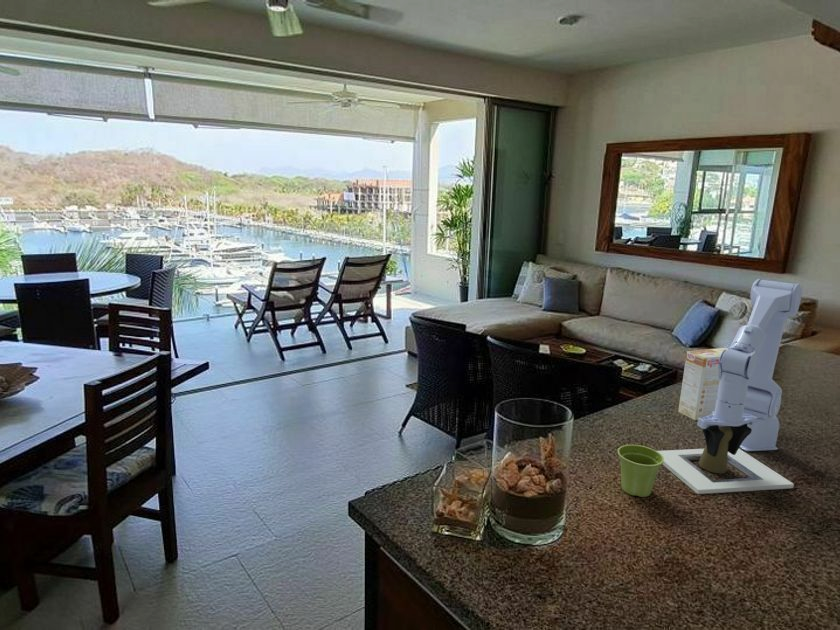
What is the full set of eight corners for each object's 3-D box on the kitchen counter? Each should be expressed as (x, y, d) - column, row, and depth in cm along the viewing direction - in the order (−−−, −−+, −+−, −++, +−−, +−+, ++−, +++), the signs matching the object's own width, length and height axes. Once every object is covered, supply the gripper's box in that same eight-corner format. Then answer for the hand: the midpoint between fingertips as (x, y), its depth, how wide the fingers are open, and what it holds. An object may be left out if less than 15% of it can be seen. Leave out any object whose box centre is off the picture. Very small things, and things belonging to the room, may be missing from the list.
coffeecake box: (714, 406, 168) (724, 347, 164) (734, 415, 162) (745, 354, 157) (676, 411, 164) (685, 350, 159) (695, 421, 157) (705, 357, 153)
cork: (729, 475, 127) (740, 433, 124) (702, 470, 128) (711, 428, 125) (721, 463, 133) (731, 422, 130) (695, 458, 134) (704, 418, 131)
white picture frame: (736, 450, 139) (736, 447, 139) (793, 488, 122) (793, 484, 122) (651, 454, 136) (651, 451, 135) (697, 494, 118) (698, 489, 118)
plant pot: (638, 506, 113) (643, 468, 111) (604, 484, 121) (608, 449, 119) (668, 496, 117) (673, 459, 115) (633, 475, 125) (638, 441, 123)
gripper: (743, 392, 130) (734, 443, 133) (691, 395, 127) (683, 448, 130) (767, 403, 124) (757, 457, 127) (713, 407, 120) (704, 462, 123)
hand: (721, 453), depth 128 cm, fingers closed on cork, 5 cm apart
